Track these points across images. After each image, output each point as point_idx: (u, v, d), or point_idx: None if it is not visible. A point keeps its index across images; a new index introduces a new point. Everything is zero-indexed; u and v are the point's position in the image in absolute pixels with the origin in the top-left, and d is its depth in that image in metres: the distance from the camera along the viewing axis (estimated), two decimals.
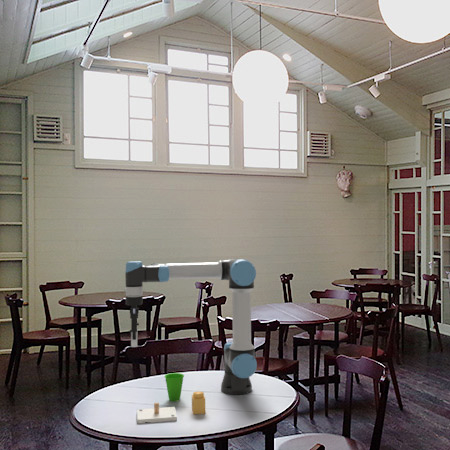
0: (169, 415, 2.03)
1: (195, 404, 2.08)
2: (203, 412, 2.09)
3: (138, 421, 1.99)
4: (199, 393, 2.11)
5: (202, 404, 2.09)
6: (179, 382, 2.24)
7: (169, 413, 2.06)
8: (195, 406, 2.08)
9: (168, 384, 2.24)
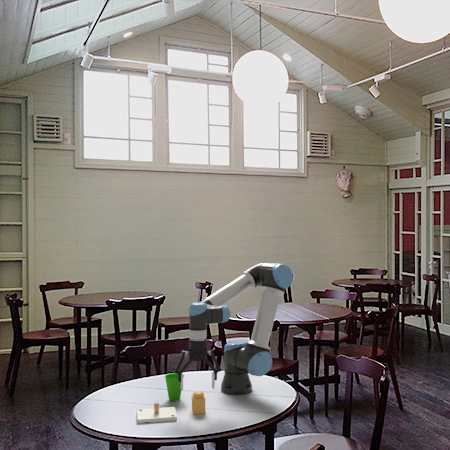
0: (169, 415, 2.03)
1: (195, 404, 2.08)
2: (203, 412, 2.09)
3: (138, 421, 1.99)
4: (199, 393, 2.11)
5: (202, 404, 2.09)
6: (179, 382, 2.24)
7: (169, 413, 2.06)
8: (195, 406, 2.08)
9: (168, 384, 2.24)
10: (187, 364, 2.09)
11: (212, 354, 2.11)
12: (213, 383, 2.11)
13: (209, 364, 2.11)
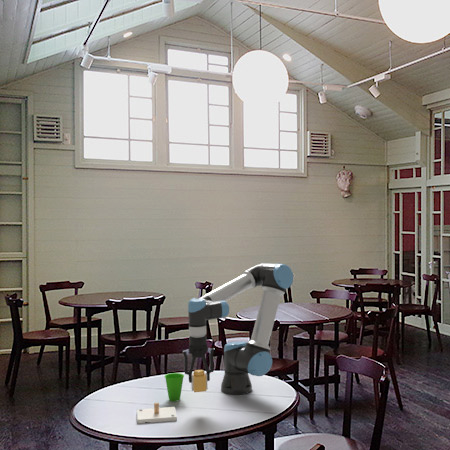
0: (169, 415, 2.03)
1: (195, 382, 2.09)
2: (204, 390, 2.09)
3: (138, 421, 1.99)
4: (200, 371, 2.11)
5: (203, 382, 2.09)
6: (179, 382, 2.24)
7: (169, 413, 2.06)
8: (196, 384, 2.09)
9: (168, 384, 2.24)
10: (193, 363, 2.10)
11: (211, 353, 2.11)
12: (206, 384, 2.11)
13: (205, 363, 2.11)
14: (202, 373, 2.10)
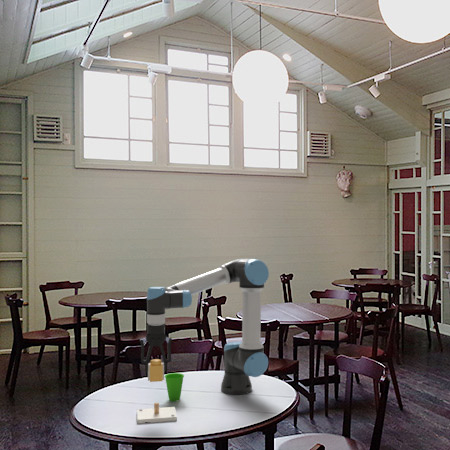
0: (169, 415, 2.03)
1: (151, 372, 2.03)
2: (160, 380, 2.04)
3: (138, 421, 1.99)
4: (157, 360, 2.06)
5: (159, 372, 2.04)
6: (179, 382, 2.24)
7: (169, 413, 2.06)
8: (152, 373, 2.03)
9: (168, 384, 2.24)
10: (149, 351, 2.05)
11: (169, 342, 2.06)
12: (163, 374, 2.05)
13: (162, 352, 2.06)
14: (159, 362, 2.05)
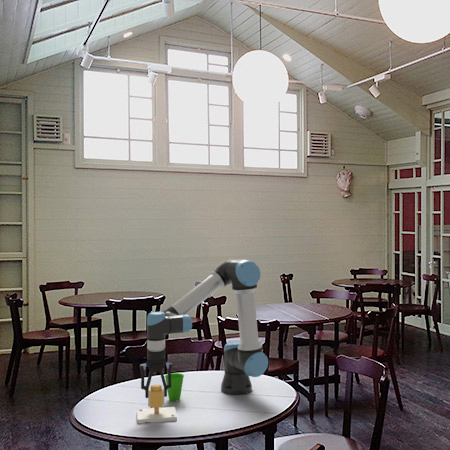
0: (169, 415, 2.03)
1: (152, 398, 2.03)
2: (160, 406, 2.04)
3: (138, 421, 1.99)
4: (157, 386, 2.06)
5: (159, 398, 2.04)
6: (179, 382, 2.24)
7: (169, 413, 2.06)
8: (152, 399, 2.03)
9: None
10: (150, 377, 2.05)
11: (169, 368, 2.06)
12: (163, 400, 2.05)
13: (162, 378, 2.05)
14: (159, 388, 2.04)
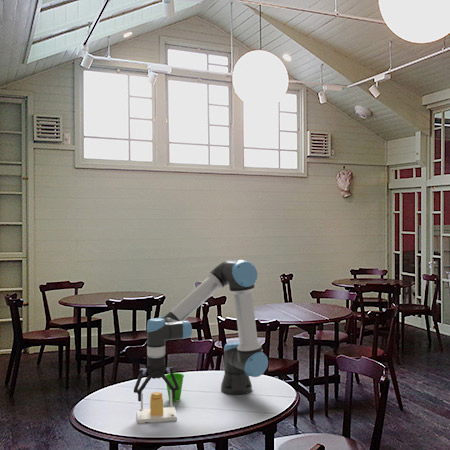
0: (169, 415, 2.03)
1: (152, 405, 2.03)
2: (161, 413, 2.04)
3: (138, 421, 1.99)
4: (157, 394, 2.06)
5: (160, 405, 2.04)
6: (179, 382, 2.24)
7: (169, 413, 2.06)
8: (152, 407, 2.03)
9: None
10: (146, 382, 2.04)
11: (171, 371, 2.06)
12: (171, 402, 2.06)
13: (167, 382, 2.06)
14: (159, 396, 2.04)
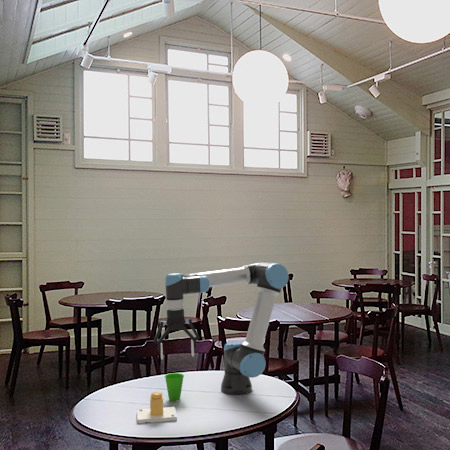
0: (169, 415, 2.03)
1: (152, 405, 2.03)
2: (161, 413, 2.04)
3: (138, 421, 1.99)
4: (157, 394, 2.06)
5: (160, 405, 2.04)
6: (179, 382, 2.24)
7: (169, 413, 2.06)
8: (152, 407, 2.03)
9: (168, 384, 2.24)
10: (166, 333, 2.13)
11: (190, 323, 2.15)
12: (192, 351, 2.15)
13: (188, 332, 2.15)
14: (159, 396, 2.04)
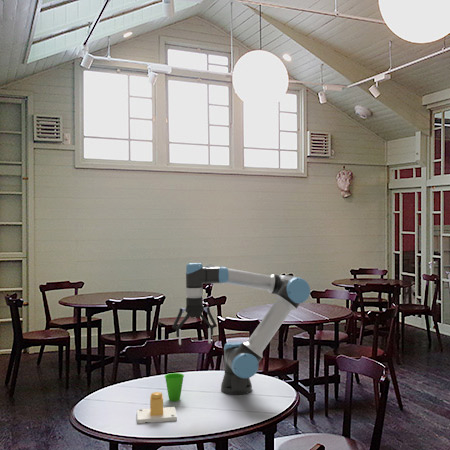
0: (169, 415, 2.03)
1: (152, 405, 2.03)
2: (161, 413, 2.04)
3: (138, 421, 1.99)
4: (157, 394, 2.06)
5: (160, 405, 2.04)
6: (179, 382, 2.24)
7: (169, 413, 2.06)
8: (152, 407, 2.03)
9: (168, 384, 2.24)
10: (184, 320, 2.22)
11: (208, 311, 2.24)
12: (209, 338, 2.23)
13: (205, 320, 2.23)
14: (159, 396, 2.04)
